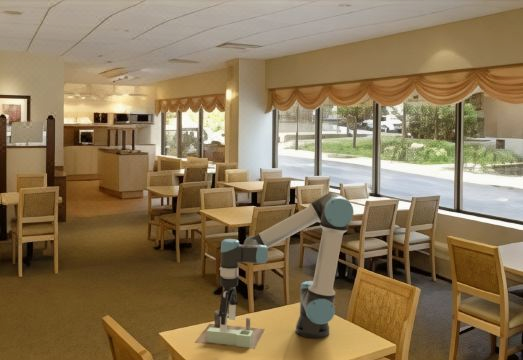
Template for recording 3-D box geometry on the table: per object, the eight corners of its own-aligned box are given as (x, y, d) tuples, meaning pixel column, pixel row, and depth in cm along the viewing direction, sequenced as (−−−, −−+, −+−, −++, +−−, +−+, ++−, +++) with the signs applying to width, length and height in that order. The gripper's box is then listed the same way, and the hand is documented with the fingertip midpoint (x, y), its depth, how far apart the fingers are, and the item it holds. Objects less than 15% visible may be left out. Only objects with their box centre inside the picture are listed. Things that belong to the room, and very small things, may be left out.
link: (253, 341, 228) (253, 330, 227) (250, 347, 222) (250, 336, 221) (210, 337, 232) (210, 326, 231) (206, 343, 226) (206, 331, 225)
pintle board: (264, 331, 242) (265, 309, 241) (254, 351, 221) (254, 327, 220) (209, 325, 247) (209, 304, 246) (194, 344, 226) (194, 322, 225)
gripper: (228, 267, 236) (227, 314, 239) (211, 284, 212) (210, 335, 215) (244, 269, 235) (243, 315, 237) (230, 286, 211) (228, 337, 213)
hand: (227, 325), depth 226 cm, fingers open, 13 cm apart
